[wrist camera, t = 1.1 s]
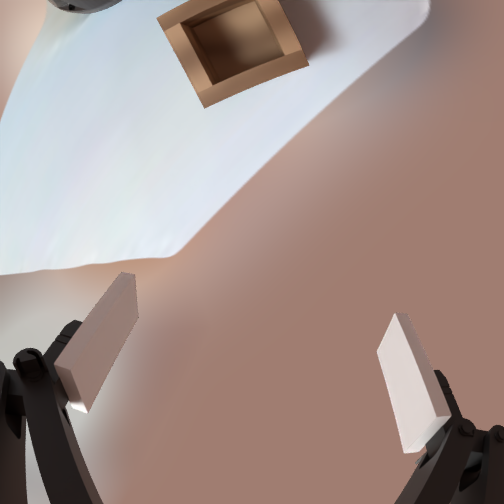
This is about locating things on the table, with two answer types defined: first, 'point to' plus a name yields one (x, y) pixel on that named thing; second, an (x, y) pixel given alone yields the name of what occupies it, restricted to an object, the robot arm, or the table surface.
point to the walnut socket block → (231, 45)
